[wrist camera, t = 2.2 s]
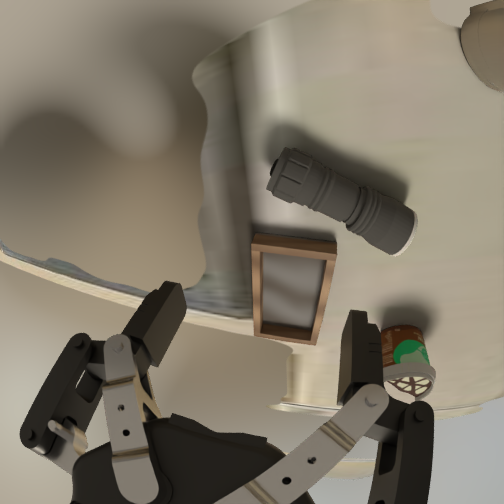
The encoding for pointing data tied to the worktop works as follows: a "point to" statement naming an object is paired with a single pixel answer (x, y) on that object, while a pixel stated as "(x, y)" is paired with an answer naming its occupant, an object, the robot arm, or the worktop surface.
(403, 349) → the food container
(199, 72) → the worktop surface
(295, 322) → the open wooden frame
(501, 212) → the worktop surface
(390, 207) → the flashlight
